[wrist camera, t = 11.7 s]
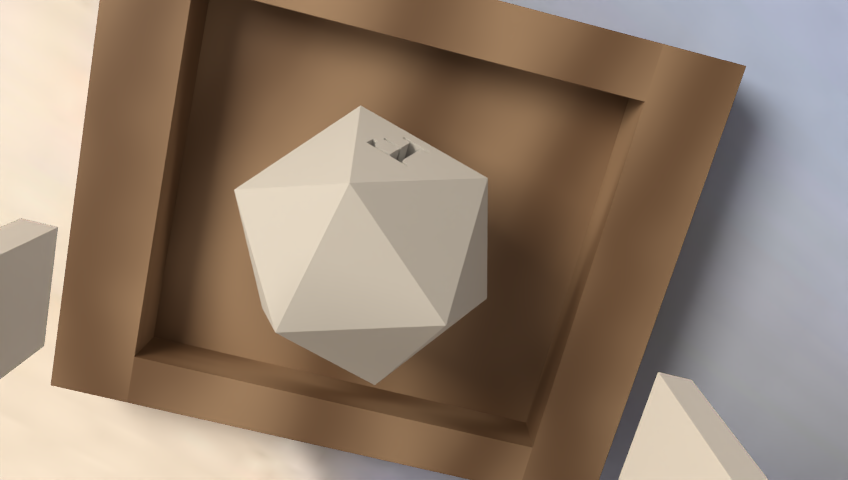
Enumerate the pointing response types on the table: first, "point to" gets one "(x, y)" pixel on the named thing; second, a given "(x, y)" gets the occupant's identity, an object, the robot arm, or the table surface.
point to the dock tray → (437, 126)
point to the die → (366, 243)
